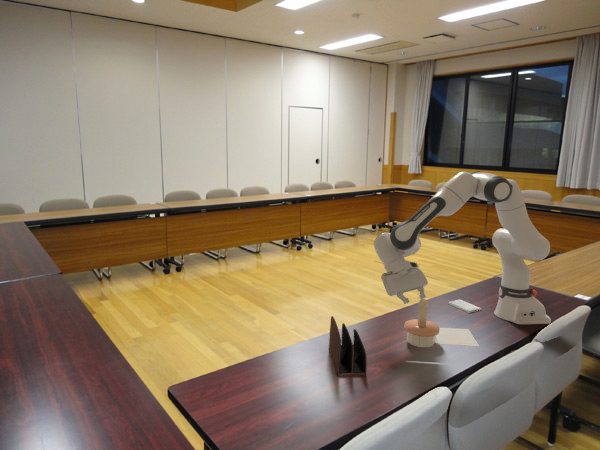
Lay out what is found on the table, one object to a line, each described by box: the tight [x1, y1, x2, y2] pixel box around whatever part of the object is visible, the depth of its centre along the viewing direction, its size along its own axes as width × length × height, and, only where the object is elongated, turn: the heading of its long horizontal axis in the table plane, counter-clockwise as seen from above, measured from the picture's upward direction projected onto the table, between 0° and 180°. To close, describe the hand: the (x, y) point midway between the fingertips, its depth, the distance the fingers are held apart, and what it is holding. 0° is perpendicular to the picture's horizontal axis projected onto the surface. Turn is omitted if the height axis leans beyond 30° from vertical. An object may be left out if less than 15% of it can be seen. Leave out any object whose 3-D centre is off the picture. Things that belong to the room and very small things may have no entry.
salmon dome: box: [403, 298, 441, 337], centre depth 161 cm, size 13×13×12 cm
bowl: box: [406, 331, 436, 348], centre depth 162 cm, size 10×10×6 cm
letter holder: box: [328, 316, 368, 377], centre depth 147 cm, size 10×20×14 cm, turn 4°
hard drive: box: [447, 299, 482, 314], centre depth 199 cm, size 2×8×12 cm
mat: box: [435, 327, 480, 347], centre depth 167 cm, size 15×15×1 cm
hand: (415, 300), depth 163 cm, fingers open, 8 cm apart
